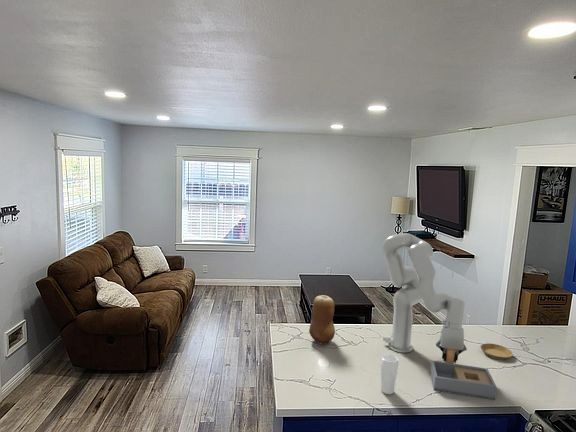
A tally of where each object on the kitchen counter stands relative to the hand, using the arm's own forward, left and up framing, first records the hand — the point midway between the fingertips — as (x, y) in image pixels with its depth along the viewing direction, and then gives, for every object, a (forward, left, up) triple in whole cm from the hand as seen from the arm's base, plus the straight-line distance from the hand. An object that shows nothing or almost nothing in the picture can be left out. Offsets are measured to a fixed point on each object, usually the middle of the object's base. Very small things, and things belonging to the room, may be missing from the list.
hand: (449, 360), depth 190 cm
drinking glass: (-29, -30, -4) cm, 42 cm away
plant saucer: (+26, +22, -4) cm, 34 cm away
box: (+3, -16, -3) cm, 16 cm away
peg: (0, 0, -3) cm, 3 cm away
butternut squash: (-63, +7, -4) cm, 63 cm away
